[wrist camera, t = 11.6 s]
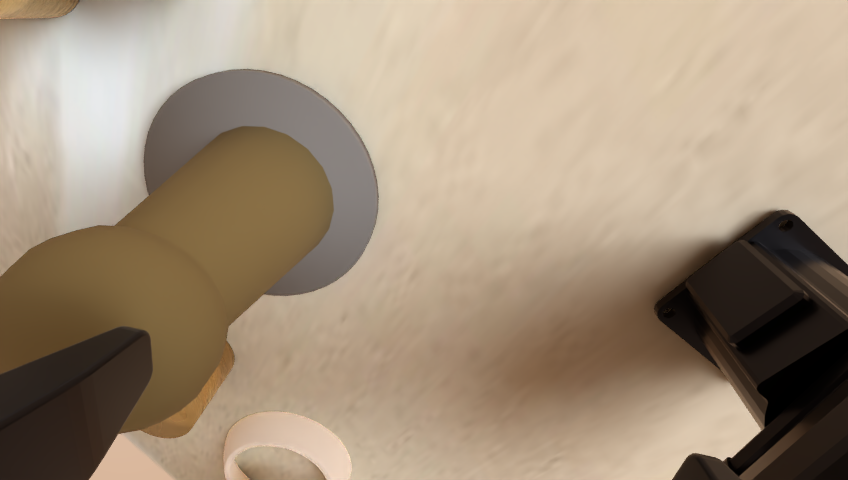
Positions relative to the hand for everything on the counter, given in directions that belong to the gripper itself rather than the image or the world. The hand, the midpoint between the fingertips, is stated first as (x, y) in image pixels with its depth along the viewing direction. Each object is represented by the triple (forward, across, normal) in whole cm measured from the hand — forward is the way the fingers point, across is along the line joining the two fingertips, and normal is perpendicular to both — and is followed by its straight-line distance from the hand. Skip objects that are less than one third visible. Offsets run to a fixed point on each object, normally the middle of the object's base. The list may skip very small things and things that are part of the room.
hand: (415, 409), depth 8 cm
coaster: (+13, +8, +3) cm, 15 cm away
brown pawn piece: (+13, +8, +3) cm, 15 cm away
